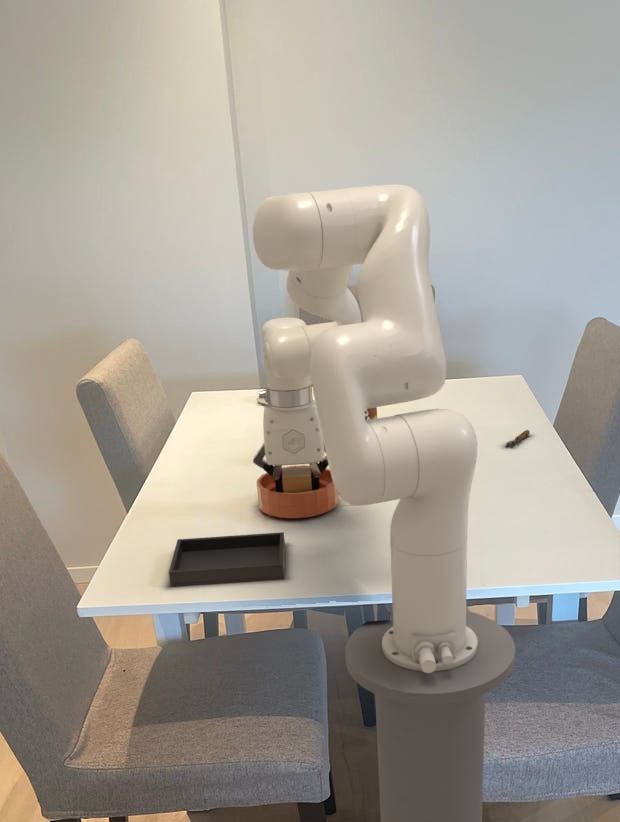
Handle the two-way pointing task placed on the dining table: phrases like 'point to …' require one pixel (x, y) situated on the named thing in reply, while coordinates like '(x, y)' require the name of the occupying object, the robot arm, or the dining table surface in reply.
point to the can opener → (519, 438)
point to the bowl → (297, 498)
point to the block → (296, 479)
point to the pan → (228, 559)
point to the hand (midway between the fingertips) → (298, 496)
